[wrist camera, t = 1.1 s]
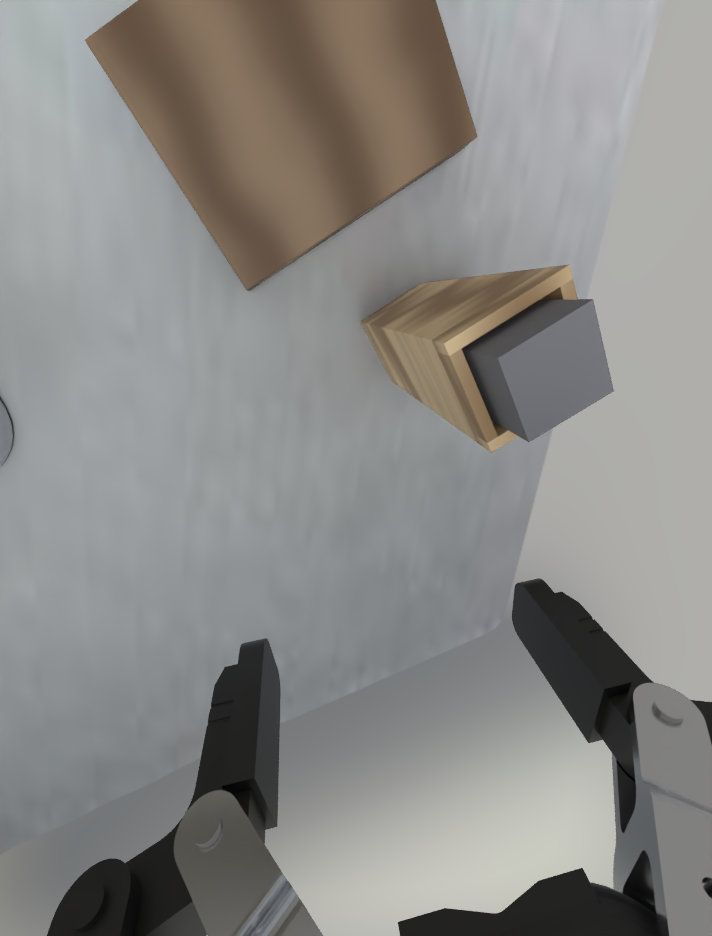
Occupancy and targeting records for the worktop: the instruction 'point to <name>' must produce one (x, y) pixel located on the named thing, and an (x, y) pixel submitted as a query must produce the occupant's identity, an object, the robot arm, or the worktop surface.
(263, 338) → the worktop surface
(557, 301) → the block
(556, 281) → the wooden square tube
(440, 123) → the block
